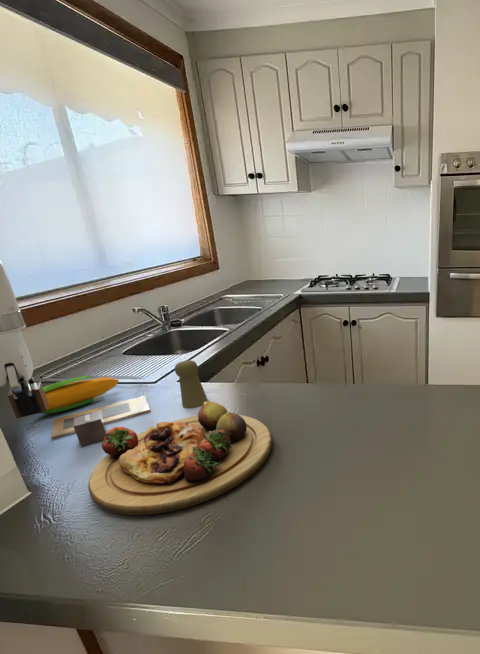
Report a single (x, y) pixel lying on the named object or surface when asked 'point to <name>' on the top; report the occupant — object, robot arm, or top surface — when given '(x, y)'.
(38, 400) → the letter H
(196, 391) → the pepper mill
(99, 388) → the corn
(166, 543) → the top surface
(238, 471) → the wooden plate
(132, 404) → the word board
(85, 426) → the brown cube
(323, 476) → the top surface
